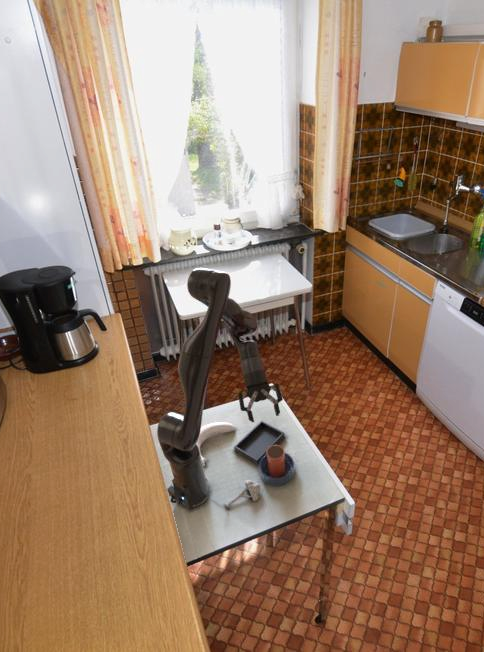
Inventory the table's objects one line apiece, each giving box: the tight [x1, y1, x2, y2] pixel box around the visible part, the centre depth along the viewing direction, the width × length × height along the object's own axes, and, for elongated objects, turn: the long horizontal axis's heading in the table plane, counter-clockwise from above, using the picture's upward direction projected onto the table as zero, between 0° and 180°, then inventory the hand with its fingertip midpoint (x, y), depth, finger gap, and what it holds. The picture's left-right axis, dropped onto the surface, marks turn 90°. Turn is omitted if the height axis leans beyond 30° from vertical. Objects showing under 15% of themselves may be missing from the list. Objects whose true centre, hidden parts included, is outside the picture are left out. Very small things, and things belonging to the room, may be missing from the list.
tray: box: [233, 420, 286, 466], centre depth 155 cm, size 15×11×2 cm
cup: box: [266, 444, 286, 478], centre depth 142 cm, size 6×6×10 cm
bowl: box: [258, 452, 295, 487], centre depth 144 cm, size 11×11×4 cm
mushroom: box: [224, 479, 261, 509], centre depth 136 cm, size 7×5×12 cm
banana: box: [196, 421, 236, 467], centre depth 156 cm, size 5×19×15 cm
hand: (265, 419), depth 145 cm, fingers open, 8 cm apart
